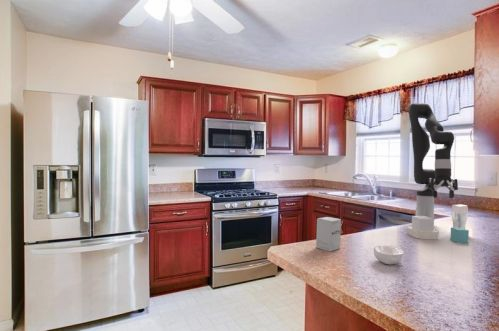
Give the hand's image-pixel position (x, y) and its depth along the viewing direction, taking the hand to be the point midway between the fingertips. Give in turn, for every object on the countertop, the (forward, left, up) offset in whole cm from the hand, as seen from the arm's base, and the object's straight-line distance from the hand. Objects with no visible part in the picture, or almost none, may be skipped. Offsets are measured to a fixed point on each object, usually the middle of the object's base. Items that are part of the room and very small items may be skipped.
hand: (443, 197), depth 160 cm
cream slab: (+12, -17, -19) cm, 28 cm away
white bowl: (+53, -52, -19) cm, 77 cm away
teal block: (+20, -4, -18) cm, 27 cm away
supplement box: (+37, -70, -18) cm, 81 cm away
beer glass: (+5, +6, -18) cm, 20 cm away
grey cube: (+12, -17, -15) cm, 26 cm away
